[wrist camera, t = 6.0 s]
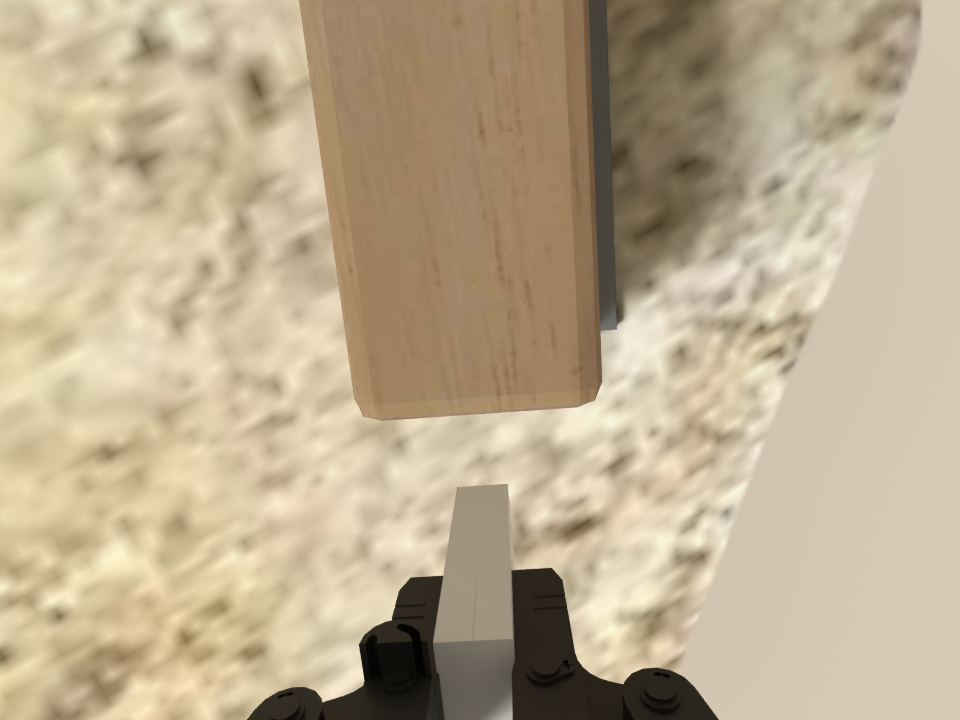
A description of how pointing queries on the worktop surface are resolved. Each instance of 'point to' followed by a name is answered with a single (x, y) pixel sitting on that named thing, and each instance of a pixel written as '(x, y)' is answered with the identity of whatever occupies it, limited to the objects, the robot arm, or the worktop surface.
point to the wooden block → (460, 200)
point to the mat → (602, 163)
